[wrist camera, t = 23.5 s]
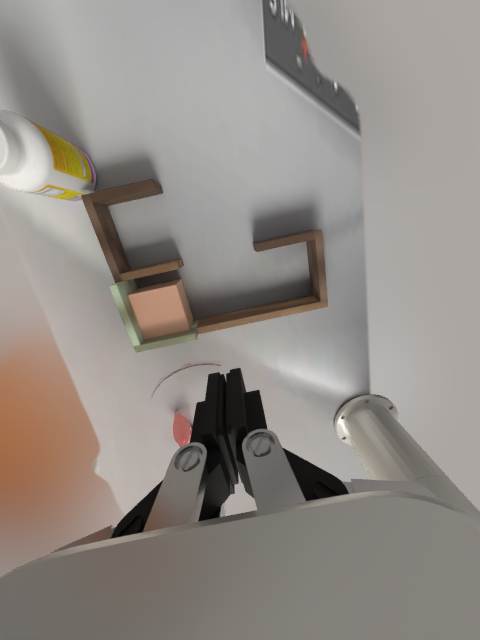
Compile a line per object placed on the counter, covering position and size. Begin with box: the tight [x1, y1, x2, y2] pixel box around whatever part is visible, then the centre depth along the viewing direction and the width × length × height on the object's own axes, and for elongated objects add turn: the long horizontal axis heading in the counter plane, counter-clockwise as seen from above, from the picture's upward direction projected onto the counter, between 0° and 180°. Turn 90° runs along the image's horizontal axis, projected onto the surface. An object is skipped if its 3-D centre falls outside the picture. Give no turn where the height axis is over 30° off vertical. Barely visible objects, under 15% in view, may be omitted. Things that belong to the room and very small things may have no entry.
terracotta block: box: [127, 279, 194, 340], centre depth 37 cm, size 7×7×4 cm
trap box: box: [81, 179, 328, 352], centre depth 33 cm, size 21×29×6 cm
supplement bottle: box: [0, 110, 96, 201], centre depth 26 cm, size 7×7×13 cm
